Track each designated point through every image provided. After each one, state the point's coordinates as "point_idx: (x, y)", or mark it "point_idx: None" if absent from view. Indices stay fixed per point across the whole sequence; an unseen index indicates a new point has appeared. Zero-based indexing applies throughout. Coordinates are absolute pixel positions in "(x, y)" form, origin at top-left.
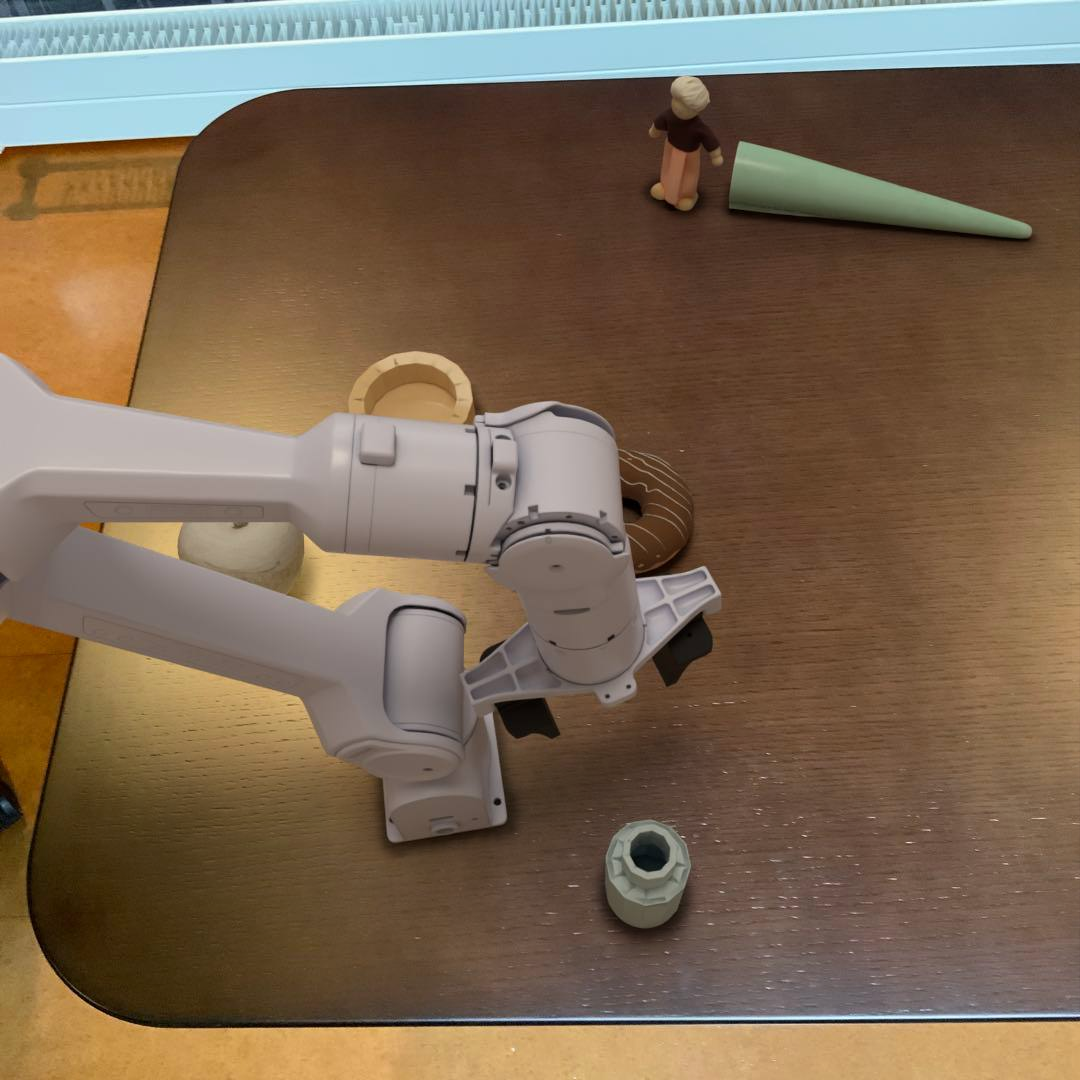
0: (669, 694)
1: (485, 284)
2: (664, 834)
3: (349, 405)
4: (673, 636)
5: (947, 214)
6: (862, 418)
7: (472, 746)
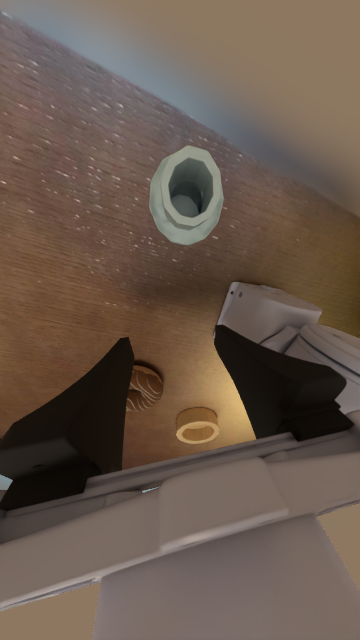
0: (136, 315)
1: (159, 445)
2: (169, 204)
3: (217, 434)
4: (39, 534)
5: None
6: (27, 393)
7: (263, 331)
